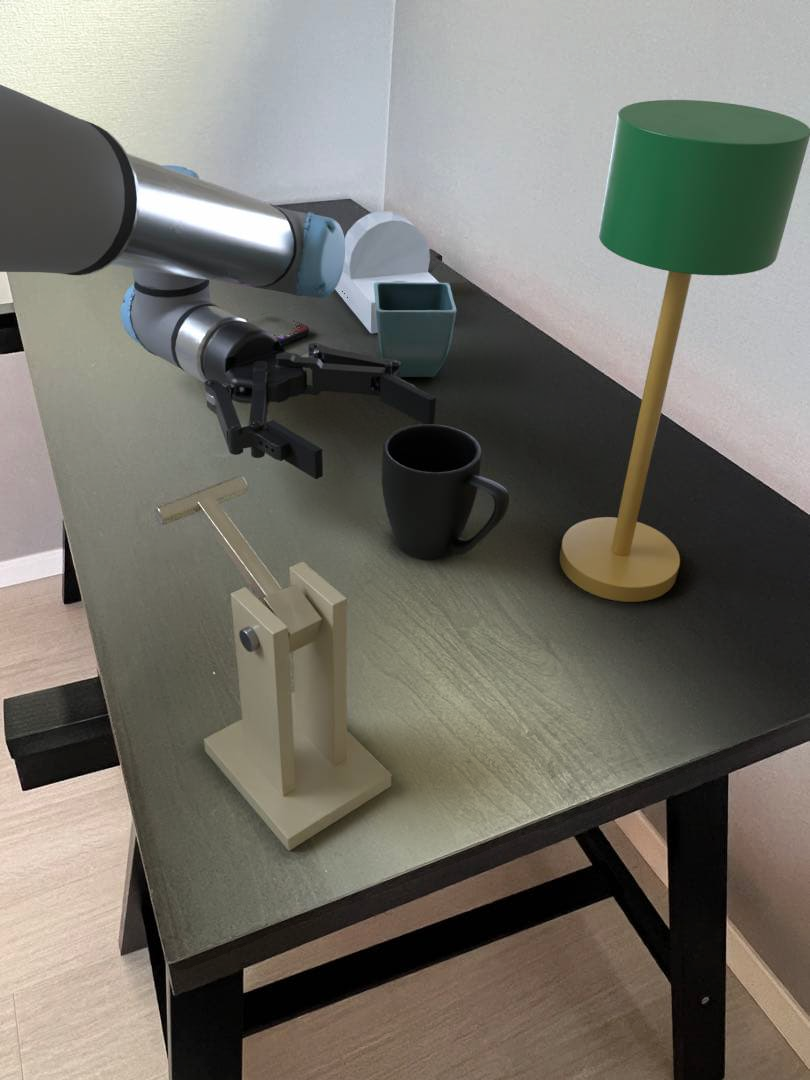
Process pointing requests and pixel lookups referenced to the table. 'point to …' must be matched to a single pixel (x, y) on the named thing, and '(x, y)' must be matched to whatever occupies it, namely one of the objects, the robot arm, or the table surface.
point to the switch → (246, 558)
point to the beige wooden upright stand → (295, 719)
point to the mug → (435, 489)
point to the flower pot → (415, 325)
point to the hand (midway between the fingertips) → (378, 437)
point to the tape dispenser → (381, 260)
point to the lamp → (680, 279)
